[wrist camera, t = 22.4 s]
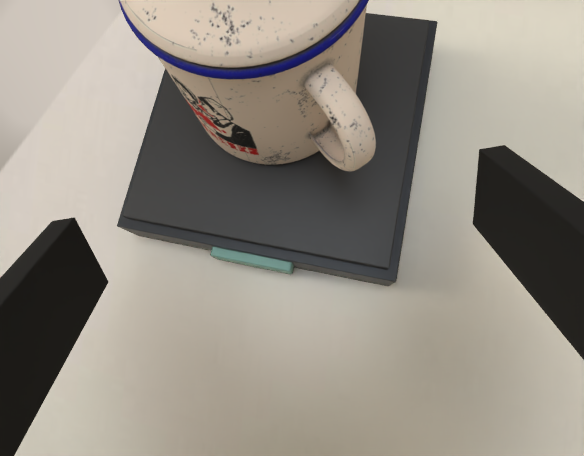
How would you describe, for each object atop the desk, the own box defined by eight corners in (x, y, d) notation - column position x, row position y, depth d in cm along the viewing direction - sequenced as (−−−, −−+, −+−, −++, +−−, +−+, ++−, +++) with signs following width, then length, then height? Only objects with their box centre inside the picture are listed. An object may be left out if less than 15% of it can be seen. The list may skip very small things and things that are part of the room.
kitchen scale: (136, 243, 24) (107, 232, 21) (201, 22, 27) (184, -16, 24) (387, 295, 22) (396, 291, 19) (426, 50, 25) (440, 13, 22)
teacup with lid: (165, 78, 23) (3, -160, 11) (298, -7, 23) (269, -317, 12) (281, 251, 20) (220, 163, 9) (429, 150, 20) (555, -58, 9)
